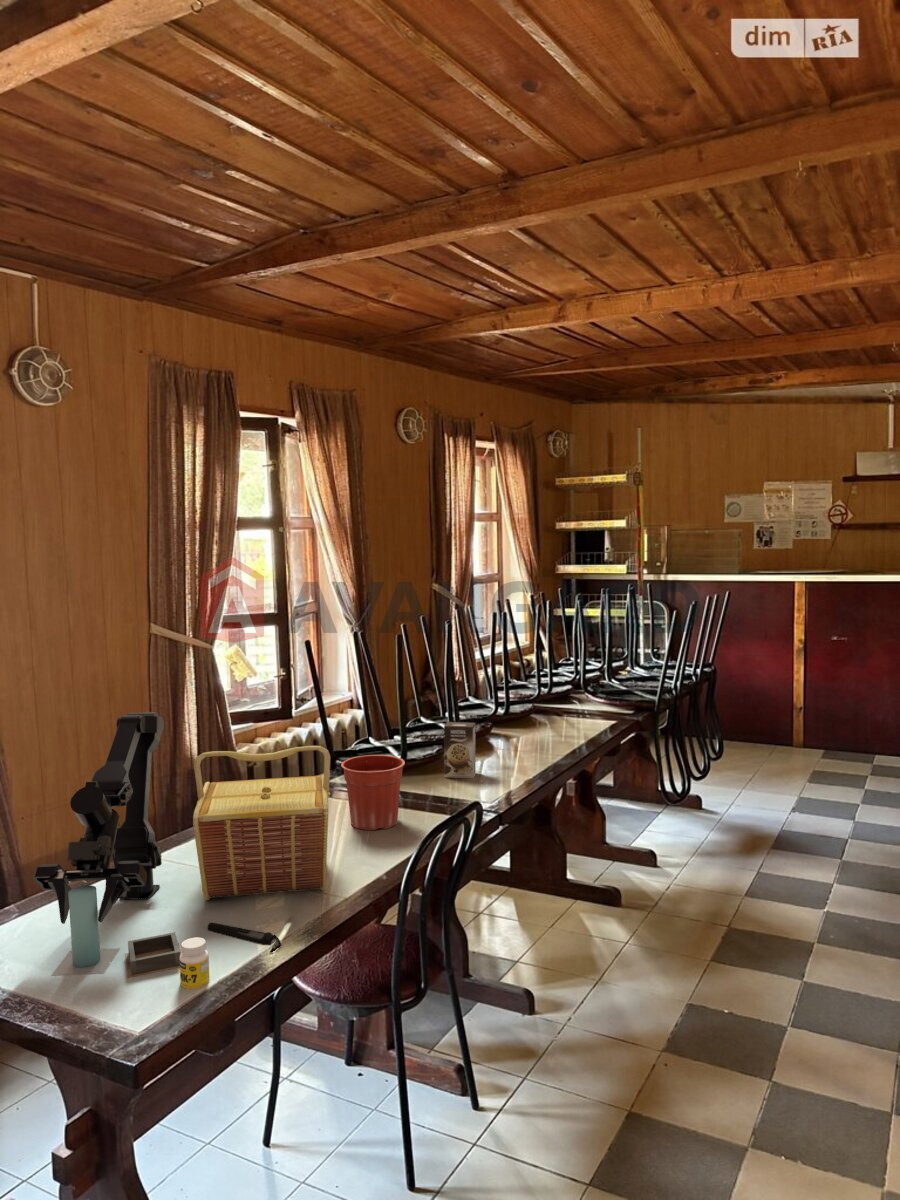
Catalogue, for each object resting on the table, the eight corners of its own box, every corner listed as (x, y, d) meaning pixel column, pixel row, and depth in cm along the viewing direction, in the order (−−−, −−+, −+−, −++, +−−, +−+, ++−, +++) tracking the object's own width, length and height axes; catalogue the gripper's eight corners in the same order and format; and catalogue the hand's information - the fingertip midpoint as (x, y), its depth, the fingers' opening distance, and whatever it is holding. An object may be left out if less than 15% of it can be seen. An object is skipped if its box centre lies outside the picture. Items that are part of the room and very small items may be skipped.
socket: (125, 961, 161) (124, 940, 161) (179, 950, 165) (178, 930, 164) (128, 986, 152) (127, 964, 152) (185, 974, 156) (183, 952, 156)
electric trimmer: (216, 933, 173) (216, 917, 172) (283, 946, 166) (282, 930, 166) (204, 941, 169) (203, 925, 169) (270, 956, 163) (270, 939, 162)
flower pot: (397, 809, 242) (395, 751, 241) (413, 829, 227) (412, 767, 225) (337, 816, 237) (335, 758, 236) (350, 837, 222) (348, 774, 220)
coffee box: (444, 777, 271) (442, 726, 269) (447, 771, 277) (446, 721, 276) (473, 778, 269) (472, 726, 268) (476, 772, 276) (475, 721, 274)
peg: (87, 953, 161) (82, 883, 160) (106, 957, 159) (102, 887, 158) (66, 964, 157) (62, 893, 156) (86, 969, 155) (81, 897, 154)
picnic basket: (191, 913, 181) (184, 769, 178) (206, 864, 206) (200, 738, 203) (336, 900, 185) (331, 760, 182) (332, 854, 211) (328, 731, 208)
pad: (70, 958, 163) (70, 950, 163) (120, 956, 163) (120, 948, 163) (51, 983, 154) (51, 975, 154) (104, 981, 154) (103, 973, 154)
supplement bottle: (174, 994, 150) (172, 946, 149) (192, 980, 154) (190, 934, 153) (198, 999, 148) (196, 951, 147) (215, 985, 152) (213, 938, 152)
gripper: (33, 821, 159) (10, 907, 150) (139, 817, 160) (123, 903, 150) (53, 847, 168) (33, 930, 158) (153, 844, 169) (139, 926, 159)
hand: (81, 922), depth 156 cm, fingers open, 6 cm apart
